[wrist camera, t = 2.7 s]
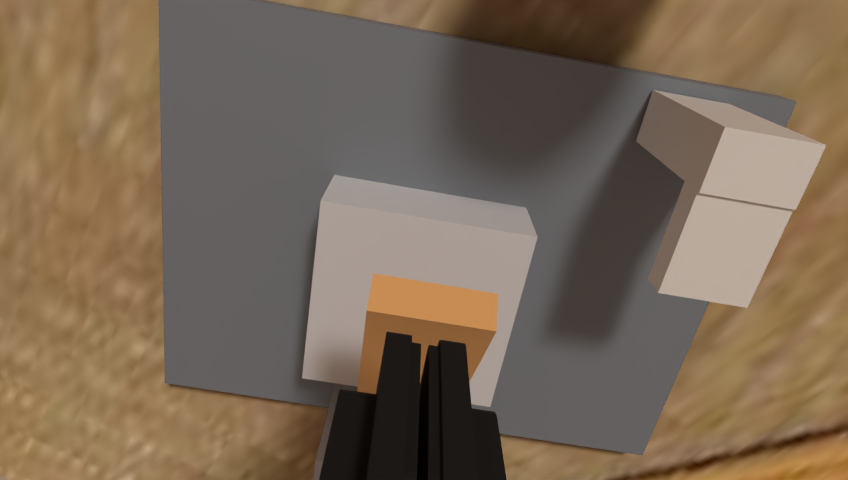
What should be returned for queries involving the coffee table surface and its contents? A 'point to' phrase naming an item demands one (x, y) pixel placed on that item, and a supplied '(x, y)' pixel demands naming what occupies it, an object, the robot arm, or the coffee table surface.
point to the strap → (424, 321)
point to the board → (427, 136)
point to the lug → (723, 194)
